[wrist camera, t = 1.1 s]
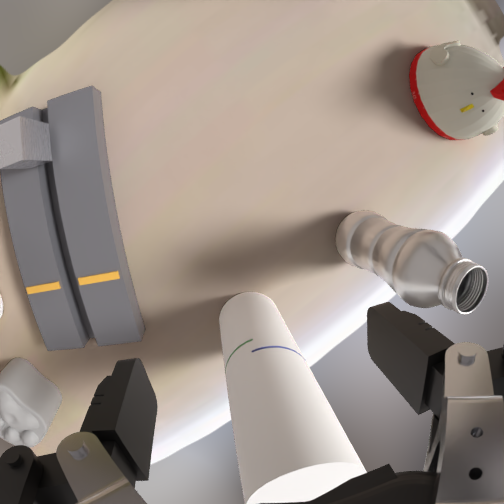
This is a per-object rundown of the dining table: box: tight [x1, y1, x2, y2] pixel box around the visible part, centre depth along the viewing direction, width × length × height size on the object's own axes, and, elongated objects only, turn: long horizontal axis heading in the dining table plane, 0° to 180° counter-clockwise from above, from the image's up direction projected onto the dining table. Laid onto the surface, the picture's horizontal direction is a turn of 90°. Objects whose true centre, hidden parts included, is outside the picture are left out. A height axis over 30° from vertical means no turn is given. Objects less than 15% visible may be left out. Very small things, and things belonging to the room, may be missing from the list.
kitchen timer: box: [409, 41, 504, 140], centre depth 27 cm, size 14×14×15 cm
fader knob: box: [0, 116, 52, 169], centre depth 24 cm, size 4×3×9 cm
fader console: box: [0, 86, 145, 351], centre depth 30 cm, size 28×13×3 cm, turn 8°
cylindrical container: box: [219, 292, 367, 504], centre depth 26 cm, size 7×7×25 cm
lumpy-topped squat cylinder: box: [0, 358, 62, 447], centre depth 32 cm, size 10×13×9 cm
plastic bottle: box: [335, 211, 488, 315], centre depth 28 cm, size 6×7×20 cm
